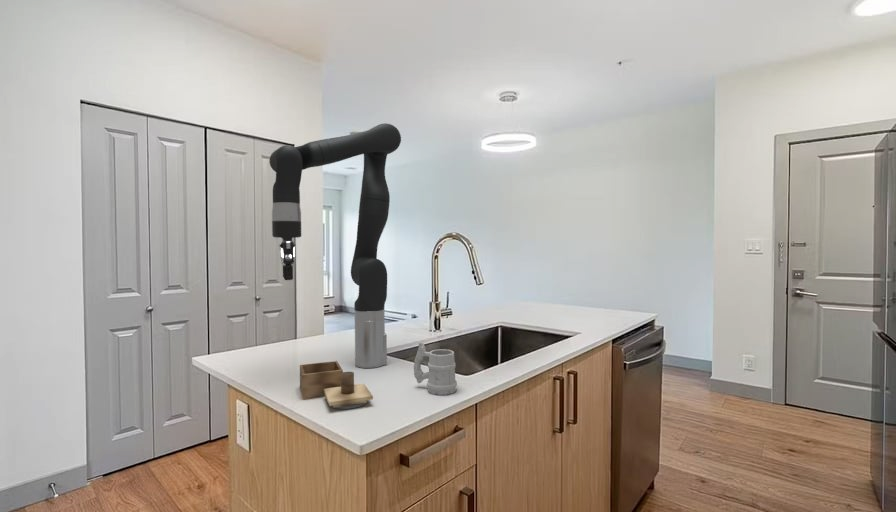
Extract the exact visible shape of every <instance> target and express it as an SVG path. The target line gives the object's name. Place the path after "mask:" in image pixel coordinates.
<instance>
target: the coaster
mask: <svg viewBox="0 0 896 512" xmlns="http://www.w3.org/2000/svg"><path fill="white" fill-rule="evenodd" d="M368 401H369V400H367V402H368ZM366 404H367V403H361V404H354V405H348V406H341V407H335V408H334V406H333V405H332V406H329V407H330V408H332V409H335V410H352V409H357V408H358V409H359V408H360V407H363V406H365V405H366Z"/></svg>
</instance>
